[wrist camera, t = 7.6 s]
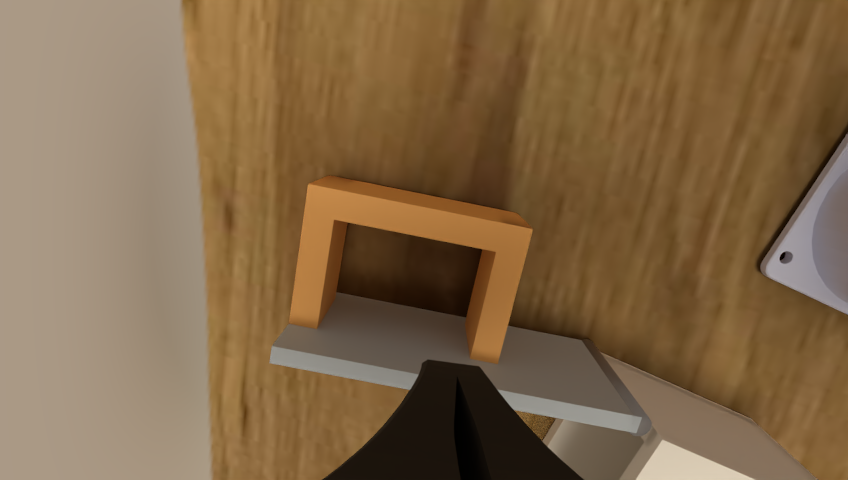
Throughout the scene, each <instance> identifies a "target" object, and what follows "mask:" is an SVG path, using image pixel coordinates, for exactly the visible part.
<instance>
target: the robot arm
mask: <svg viewBox="0 0 848 480" xmlns="http://www.w3.org/2000/svg"><path fill="white" fill-rule="evenodd" d="M783 252H785V254H786V255H785V258H784V259H782V260H781V261H780V259H779V258H780V255H781V254H782V253H783ZM761 272H762V274H763V275H765V276H766V277H768V278H771V279H773V280H775V281H777V282H779V283H781V284H783V285H785V286H788V287H790V288H792V289H794V290H796V291H798V292H800V293H802V294H805V295H807V296H809V297H811V298H813V299H815V300H817V301H819V302H822V303H824V304H826V305H828V306H830V307H832V308H834V309H836V310H839V311H841V312H843V313H845V314H847V315H848V133H847V135H846V136H845V138H844V139H843V141H842V142H841V144H840V145H839V147H838V148H837V150H836V151H835V153H834V154H833V156H832V157H831V159H830V160H829V162H828V163H827V165H826V166H825V168H824V169H823V171H822V172H821V174H820V175H819V177H818V178H817V180H816V181H815V183H814V184H813V186H812V187H811V189H810V190H809V192H808V193H807V195H806V196H805V198H804V199H803V201H802V202H801V204H800V205H799V207H798V208H797V210H796V211H795V213H794V214H793V216H792V217H791V219H790V220H789V222H788V223H787V225H786V226H785V228H784V229H783V231H782V232H781V234H780V235H779V237H778V238H777V240H776V241H775V243H774V244H773V246H772V247H771V249H770V250H769V252H768V253H767V255H766V256H765V258H764V259H763V261H762V263H761ZM322 480H584V479H583V478H582V477H580V476H579V475H578V474H577V473H576V472H575V471H574V470H572V469H571V468H570V467H569V466H568V465H567V464H566V463H564V462H563V461H562V460H561V459H560V458H559V457H558V456H557V455H556V454H555V453H554V452H552V451H551V450H550V449H549V448H548V447H547V446H546V445H545V444H544V443H543V442H542V441H541V440H540V438H539V437H538V436H537V435H536V434H535V433H534V432H533V431H532V430H531V429H530V428H529V427H528V426H527V425H526V424H525V422H524V421H523V420H522V419H521V418H520V417H519V416H518V415H517V413H516V412H515V411H514V410H513V409H512V407H511V406H510V405H509V404H508V403H507V401H506V400H505V399H504V398H503V396H502V395H501V394H500V392H499V391H498V390H497V389H496V387H495V386H494V385H493V383H492V382H491V381H490V379H489V378H488V377H487V375H486V374H485V373H484V371H483V370H482V369H481V368H480V366H474V365H466V364H459V363H451V362H444V361H436V360H429V359H427V360H426V361H424V362H423V363H422V366H421V370H420V372H419V375H418V377H417V379H416V381H415V382H414V384H413V386H412V388H411V389H410V391H409V392H408V394H407V395H406V397H405V398H404V400H403V401H402V403H401V404H400V406H399V407H398V408H397V409H396V411H395V412H394V413H393V414H392V416H391V417H390V418H389V419H388V421H387V422H386V423H385V424H384V425H383V426H382V428H381V429H380V430H379V431H378V432H377V433H376V434H375V435H374V436H373V437H372V438H371V439H370V440H369V441H368V442H367V443H366V444H365V445H364V446H363V447H362V448H361V449H360V450H359V451H357V452H356V453H355V454H354V455H353V456H352V457H350V458H349V459H348V460H347V461H346V462H344V463H343V464H342V465H341V466H340V467H338V468H337V469H336V470H335V471H333V472H332V473H331V474H329V475H328V476H327V477H325V478H324V479H322Z"/></svg>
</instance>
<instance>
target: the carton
mask: <svg viewBox="0 0 848 480" xmlns="http://www.w3.org/2000/svg"><path fill="white" fill-rule="evenodd" d="M601 354H602V355H603V356H604V358H605V359H606V360H607V362H608V363H609V365H610V366H611V367H612V369H613V370H614V371H615V373H616V374H617V375H618V377H619V378H620V379H621V381H622V382H623V383H624V385H625V386H626V387H627V389H628V390H629V391H630V393H631V394H632V395H633V397H634V398H635V399H636V401H637V402H638V404H639V405H640V406H641V408H642V409H643V410H644V412H645V413H646V414H647V416H648V417H649V418H650V420H651V422H652V427H651V429H650V431H649V432H648V433H647V434H645V435H642V436H634V435H631V434H630V433H629V432H627V431H621V430H616V429H611V428H606V427H601V426H595V425H590V424H585V423H580V422H575V421H569V420H564V419H559V418H556V419H555V421H554V423H553V424H552V426H551V428H550V429H549V431H548V433H547V434H546V436H545V438H544V439H543V441H542V442H543V443H544V444H545V445H546V446H547V447H548V448H549V449H550V450H551V451H552V452H554V453H555V454H556V455H557V456H558V457H559V458H560V459H561V460H562V461H563V462H564V463H566V464H567V465H568V466H569V467H570V468H571V469H572V470H574V471H575V472H576V473H577V474H578V475H579V476H580V477H582V478H583V479H584V480H818V479H817V478H816V477H815V476H813V475H812V474H811V473H810V472H809V471H808V470H807V469H806V468H805V467H804V466H803V465H801V464H800V463H799V462H798V461H797V460H796V459H795V458H794V457H793V456H792V455H790V454H789V453H788V452H787V451H786V450H785V449H784V448H783V447H782V446H781V445H780V444H778V443H777V442H776V441H775V440H774V439H773V438H772V437H771V436H770V435H769V434H767V433H766V432H765V431H764V430H763V429H762V428H761V427H760V426H759V425H758V424H756V423H755V422H754V421H753V420H752V419H751V418H749V417H747V416H744V415H742V414H740V413H738V412H735V411H733V410H731V409H729V408H726V407H724V406H722V405H719V404H717V403H715V402H713V401H710V400H708V399H706V398H704V397H701V396H699V395H697V394H695V393H692V392H690V391H688V390H685V389H683V388H681V387H679V386H676V385H674V384H672V383H670V382H667V381H665V380H663V379H661V378H658V377H656V376H654V375H652V374H649V373H647V372H645V371H642V370H640V369H638V368H636V367H633V366H631V365H629V364H627V363H624V362H622V361H620V360H618V359H615V358H613V357H611V356H608V355H606V354H604V353H602V352H601Z"/></svg>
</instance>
